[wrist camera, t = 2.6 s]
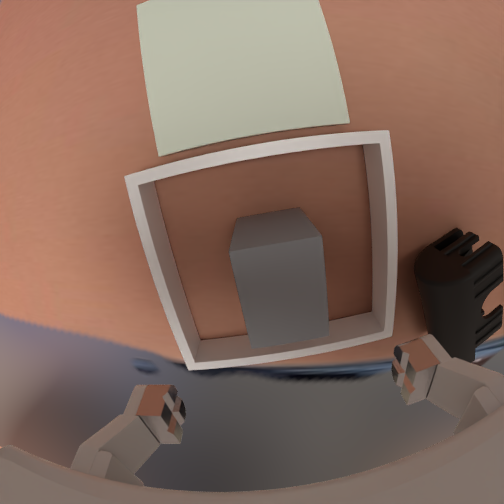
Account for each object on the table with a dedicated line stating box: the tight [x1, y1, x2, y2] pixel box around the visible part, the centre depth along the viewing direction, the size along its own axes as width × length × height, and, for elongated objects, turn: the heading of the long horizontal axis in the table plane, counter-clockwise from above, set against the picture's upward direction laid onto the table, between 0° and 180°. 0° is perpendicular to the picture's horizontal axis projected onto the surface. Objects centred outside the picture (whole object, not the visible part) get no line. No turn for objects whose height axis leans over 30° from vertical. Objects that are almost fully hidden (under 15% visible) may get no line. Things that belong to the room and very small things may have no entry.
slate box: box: [229, 207, 329, 349], centre depth 18 cm, size 4×6×7 cm
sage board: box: [137, 0, 350, 156], centre depth 15 cm, size 13×13×1 cm
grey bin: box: [124, 130, 398, 370], centre depth 19 cm, size 17×16×3 cm
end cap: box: [414, 228, 503, 363], centre depth 19 cm, size 10×7×7 cm
